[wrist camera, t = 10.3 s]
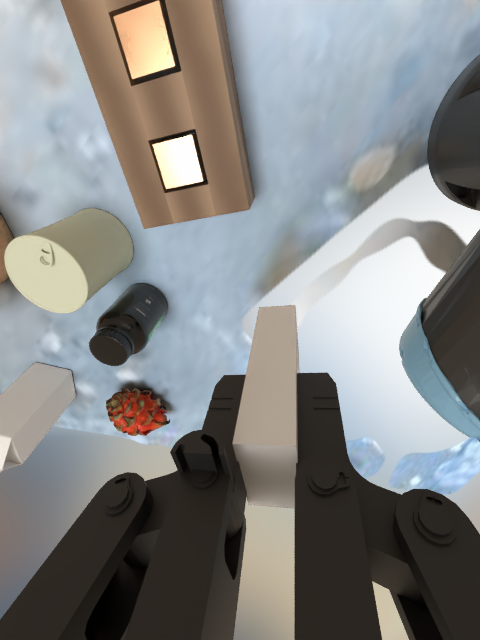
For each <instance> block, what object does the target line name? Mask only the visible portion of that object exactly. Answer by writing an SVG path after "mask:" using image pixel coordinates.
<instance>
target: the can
mask: <svg viewBox="0 0 480 640" xmlns="http://www.w3.org/2000/svg"><path fill="white" fill-rule="evenodd" d="M132 258H133V243H132V239H131V237H130V235H129V233H128V231H127V229H126V228H125V227H124V225H123V224H122V223H121V222H120V221H119V220H118V219H117V218H116V217H114V216H113V215H111V214H110V213H108V212H106V211H103V210H100V209H94V208H89V209H83V210H81V211H79V212H77V213H76V214H75V215H73V216H70V217H68V218H66V219H63V220H61V221H59V222H56V223H54V224H51V225H49V226H47V227H44V228H42V229H39V230H36V231H34V232H31V233H29V234H26V235H22V236H19V237H17V238H15V239H13V240H12V241H11V242H10V243H9V244H8V246H7V248H6V250H5V256H4V261H5V267H6V270H7V273H8V275H9V277H10V279H11V281H12V283H13V284H14V285H15V287H16V288H17V289H18V290H19V292H20V293H21V294H22V295H23V296H25V297H26V298H27V299H28V300H29V301H31V302H32V303H34V304H35V305H37V306H39V307H41V308H43V309H45V310H48V311H51V312H55V313H71V312H74V311H76V310H78V309H80V308H81V307H82V306H83V305H84V304H85V303H86V302H87V301H88V300H89V299H90V298H91V297H92V296H93V295H94V294H95V293H96V292H98V291H99V290H100V289H101V288H102V287H103V286H104V285H106V284H107V283H108V282H109V281H110V280H111V279H112V278H114V277H115V276H116V275H117V274H118V273H120V272H122V271H123V270H125V269H126V268H127V267H128V266H129V264H130V263H131V261H132Z"/></svg>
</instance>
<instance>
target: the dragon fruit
mask: <svg viewBox="0 0 480 640" xmlns="http://www.w3.org/2000/svg"><path fill="white" fill-rule="evenodd" d="M145 392H148V393H146V394H142V393H145ZM151 394H152V392H151V391H147V390H143V391H142V392H140V391H139V389H137V388H134V389H133V390H132V392H130V391H129V390H128V389H127V388H122V391H121V392H117V393H115V394H114V395H113V396H112V398H110V399H109V400H107V401H106V408H107V410H108V416H109V419H110V421H111V422H112V421H114V426H115V428H116V429H117V430H118V431H122V432H123V433H126V432H127V433H128V434H129V435H131V436H136V435H138V434H140V435H143V436H146V435H147V434H148V433H150V432H151V431H153V430H155V429H158V428H159V427H162V426H164V425H166V424H169V423H170V419H169V421H167V418H166V417H167V416H166V415H165V414H163V413H167V409H166V407H164V404H162V403H160V401H161V398H156V400H152V399H151V398H150V396H151ZM159 406H161V407H159ZM162 407H163V408H164V409H165V411H164V410H162V409H161V408H162Z"/></svg>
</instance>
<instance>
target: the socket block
mask: <svg viewBox="0 0 480 640" xmlns="http://www.w3.org/2000/svg"><path fill="white" fill-rule="evenodd" d="M155 1H158V0H61V3H62V5H63V8H64V11H65V14H66V16H67V19H68V22H69V25H70V27H71V30H72V33H73V36H74V38H75V41H76V44H77V47H78V49H79V52H80V55H81V57H82V60H83V63H84V66H85V68H86V71H87V74H88V77H89V79H90V82H91V85H92V88H93V90H94V93H95V96H96V99H97V101H98V104H99V107H100V110H101V112H102V115H103V118H104V120H105V123H106V126H107V129H108V131H109V134H110V137H111V140H112V142H113V145H114V148H115V151H116V153H117V156H118V159H119V162H120V164H121V167H122V170H123V173H124V175H125V178H126V181H127V183H128V186H129V189H130V192H131V194H132V197H133V200H134V203H135V205H136V208H137V211H138V214H139V216H140V219H141V222H142V225H143V227H144V229H146V228H152V227H157V226H163V225H168V224H173V223H179V222H184V221H190V220H195V219H201V218H206V217H212V216H217V215H223V214H228V213H234V212H239V211H245V210H249V209H250V207H251V205H252V203H253V200H254V192H253V186H252V180H251V174H250V168H249V162H248V156H247V150H246V144H245V138H244V132H243V126H242V120H241V114H240V108H239V102H238V96H237V90H236V84H235V78H234V72H233V66H232V60H231V54H230V48H229V42H228V36H227V30H226V24H225V18H224V12H223V6H222V0H159V1H160V2H161V3H162V4H163V5H164V6H165V7H166V8H167V11H168V16H169V20H170V24H171V28H172V32H173V37H174V41H175V45H176V49H177V54H178V58H179V62H180V66H181V70H182V71H181V72H177V73H174V74H171V75H167V76H164V77H161V78H157V79H154V80H151V81H147V82H140V81H137V80H134V79H132V76H131V73H130V70H129V66H128V63H127V60H126V57H125V53H124V50H123V47H122V44H121V40H120V37H119V34H118V31H117V27H116V24H115V21H114V18H113V17H114V16H116V15H119V14H122V13H125V12H128V11H130V10H133V9H136V8H139V7H141V6H144V5H147V4H150V3H152V2H155ZM193 132H196V134H197V138H198V142H199V146H200V151H201V155H202V159H203V163H204V168H205V172H206V176H207V179H206V180H204V181H202V182H197V183H192V184H188V185H183V186H178V187H173V188H169V189H166V187H165V184H164V181H163V177H162V174H161V171H160V168H159V164H158V161H157V158H156V155H155V151H154V148H153V144H157V143H161V142H165V141H169V138H173V137H177V136H181V135H185V134H189V133H193Z"/></svg>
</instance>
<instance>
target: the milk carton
mask: <svg viewBox="0 0 480 640" xmlns="http://www.w3.org/2000/svg"><path fill="white" fill-rule="evenodd" d="M75 396H76V393H75V388H74V382H73V377H72V372H71V370H67V369H63V368H59V367H54V366H50V365H45V364H41V363H34V364H33V365H32V366H31V367H30V368H29V369H28V370H27V371H26V372H25V373H24V374H22V375H21V376H20V377H19V378H18V379H17V380H16V381H15V382H14V383H13V384H12V385H11V386H10V387H9V388H8V389H6V390H5V391H4V392H3V393H2V394H1V395H0V473H1V471H3V470H6V469H10V468H13V467H16V466H20V465H22V464H23V463H24V462H25V460H26V459H27V458H28V456H29V455H30V454H31V452H32V451H33V450H34V449H35V447H36V446H37V445H38V444H39V442H40V441H41V440H42V439H43V437H44V436H45V435H46V433H47V432H48V431H49V430H50V428H51V427H52V426H53V425H54V423H55V422H56V421H57V419H58V418H59V417H60V416H61V414H62V413H63V412H64V411H65V409H66V408H67V407H68V405H69V404H70V403H71V402H72V400H73V399H74V398H75Z"/></svg>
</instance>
